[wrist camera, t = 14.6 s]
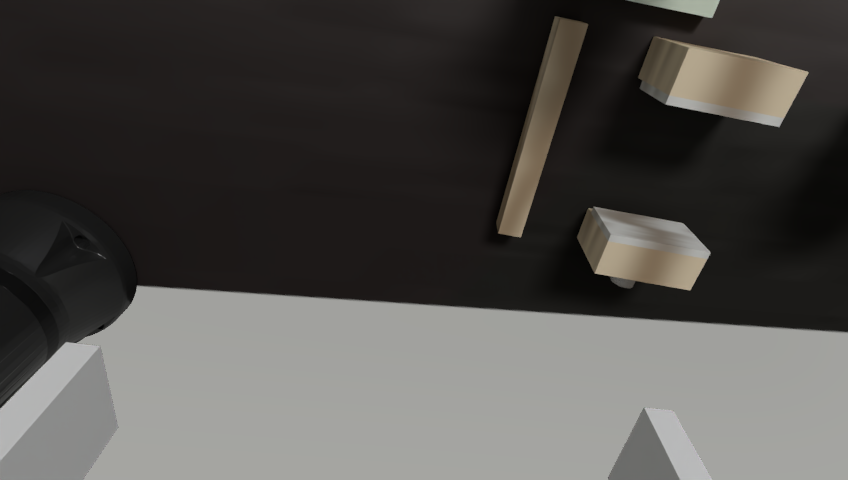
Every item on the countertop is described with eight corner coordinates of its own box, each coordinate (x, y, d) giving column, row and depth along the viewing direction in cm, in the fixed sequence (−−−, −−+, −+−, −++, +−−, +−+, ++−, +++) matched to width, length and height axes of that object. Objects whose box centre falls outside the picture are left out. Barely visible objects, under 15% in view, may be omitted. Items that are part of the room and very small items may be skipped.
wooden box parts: (490, 241, 45) (496, 278, 40) (554, 16, 36) (573, 24, 30) (652, 270, 46) (679, 309, 40) (756, 57, 36) (808, 72, 31)
